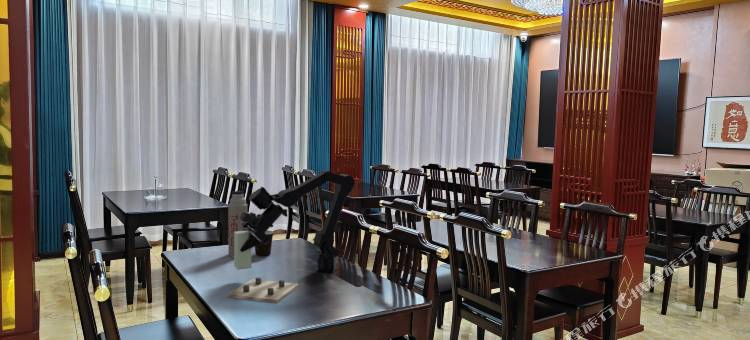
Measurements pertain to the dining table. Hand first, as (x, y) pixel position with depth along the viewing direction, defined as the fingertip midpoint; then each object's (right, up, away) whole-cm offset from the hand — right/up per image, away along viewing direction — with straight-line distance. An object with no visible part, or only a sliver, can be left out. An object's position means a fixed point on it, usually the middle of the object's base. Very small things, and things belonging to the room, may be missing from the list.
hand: (238, 249), depth 193 cm
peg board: (+11, -13, -10) cm, 20 cm away
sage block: (+1, -7, +1) cm, 7 cm away
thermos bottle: (-10, -8, +39) cm, 41 cm away
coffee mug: (0, -8, +41) cm, 42 cm away
